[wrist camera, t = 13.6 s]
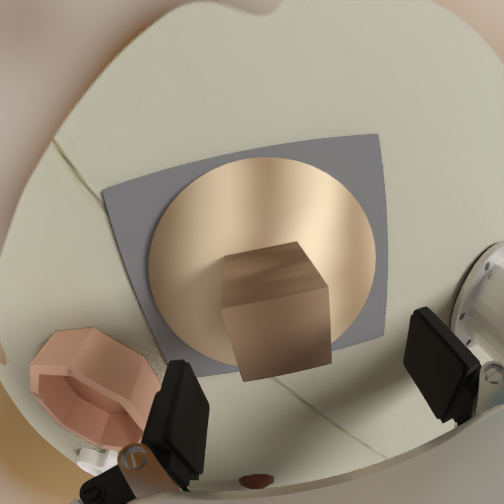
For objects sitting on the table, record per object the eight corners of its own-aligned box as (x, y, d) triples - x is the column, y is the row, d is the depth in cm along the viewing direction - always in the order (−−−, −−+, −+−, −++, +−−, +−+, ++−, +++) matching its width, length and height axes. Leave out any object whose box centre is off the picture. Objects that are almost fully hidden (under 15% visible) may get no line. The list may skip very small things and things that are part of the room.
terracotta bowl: (128, 322, 19) (105, 365, 14) (180, 415, 23) (174, 454, 18) (34, 332, 19) (9, 362, 14) (90, 413, 23) (77, 444, 19)
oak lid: (360, 143, 15) (428, 142, 9) (368, 336, 20) (405, 392, 14) (124, 189, 15) (65, 212, 9) (190, 372, 20) (180, 440, 14)
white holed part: (203, 476, 30) (165, 491, 33) (91, 431, 26) (76, 454, 29) (202, 494, 27) (164, 505, 30) (84, 449, 22) (72, 468, 26)
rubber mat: (374, 134, 15) (378, 133, 15) (381, 332, 21) (383, 335, 20) (105, 188, 16) (101, 189, 15) (176, 375, 21) (175, 379, 21)
